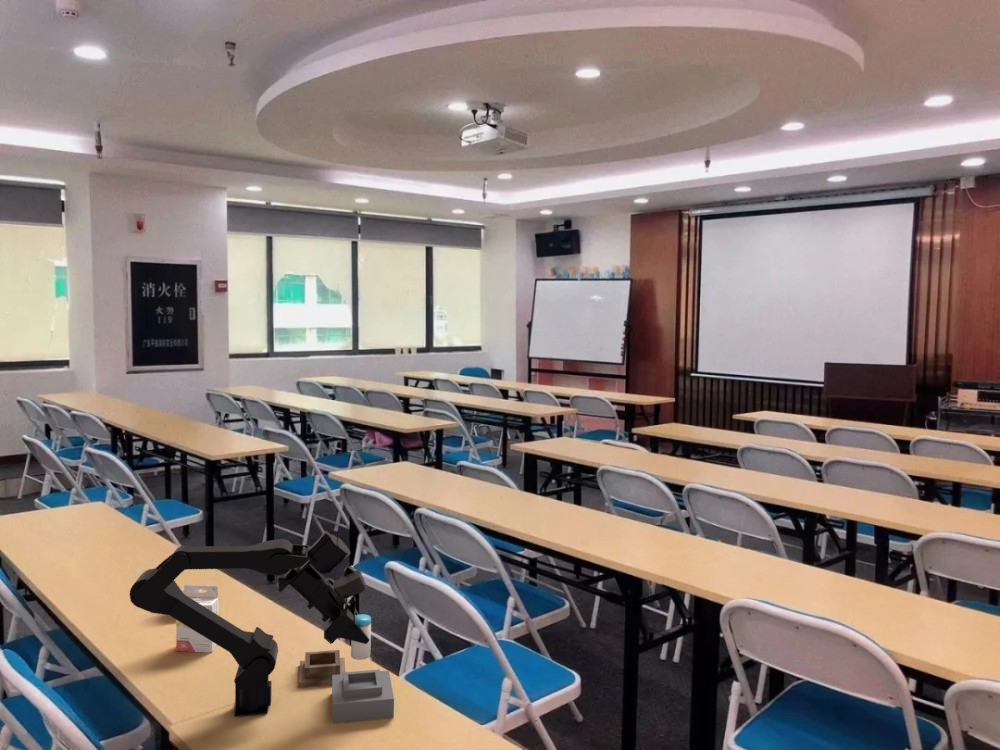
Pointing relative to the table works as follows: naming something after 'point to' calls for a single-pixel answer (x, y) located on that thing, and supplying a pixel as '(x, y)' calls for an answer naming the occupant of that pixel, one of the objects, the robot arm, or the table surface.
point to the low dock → (320, 667)
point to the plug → (357, 648)
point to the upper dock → (362, 696)
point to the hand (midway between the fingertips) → (367, 637)
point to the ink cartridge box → (186, 635)
